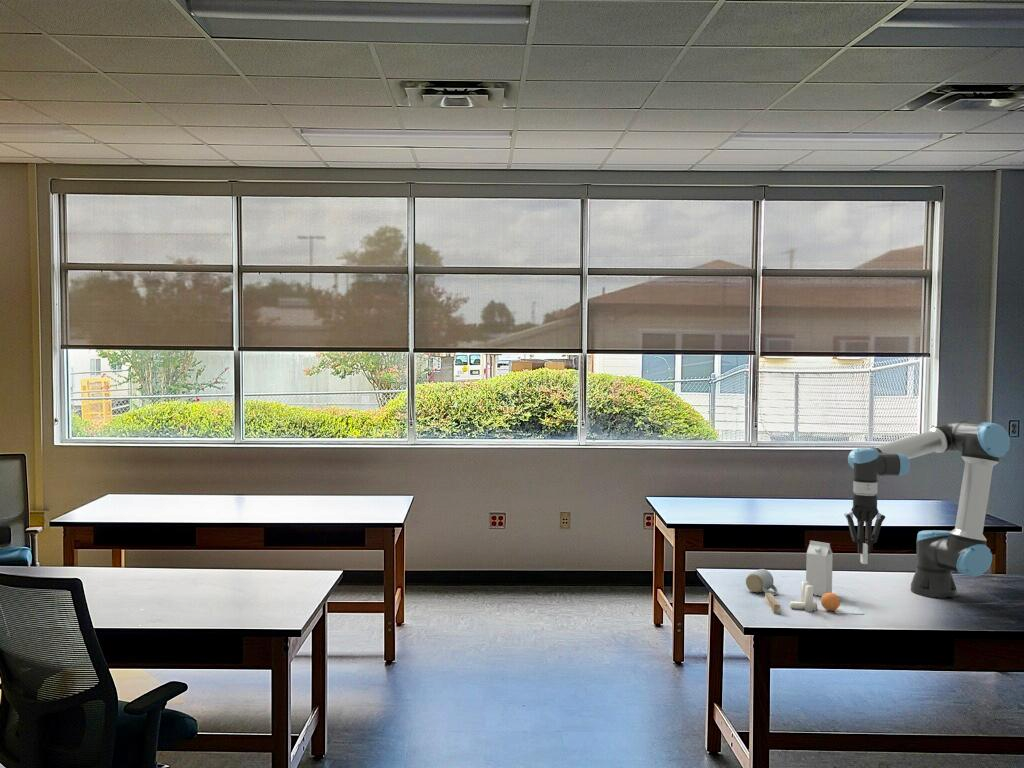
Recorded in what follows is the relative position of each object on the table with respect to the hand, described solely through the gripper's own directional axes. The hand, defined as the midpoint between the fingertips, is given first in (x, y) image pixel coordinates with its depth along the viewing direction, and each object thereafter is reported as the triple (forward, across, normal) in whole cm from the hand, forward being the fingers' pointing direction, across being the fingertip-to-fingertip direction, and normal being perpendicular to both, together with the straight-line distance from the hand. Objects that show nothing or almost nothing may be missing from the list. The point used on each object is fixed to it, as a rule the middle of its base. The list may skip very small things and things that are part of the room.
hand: (863, 563), depth 269 cm
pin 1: (+16, -18, +2) cm, 25 cm away
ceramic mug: (+17, -29, +20) cm, 39 cm away
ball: (+13, -11, -1) cm, 17 cm away
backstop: (+16, -30, 0) cm, 34 cm away
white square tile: (+16, -6, 0) cm, 17 cm away
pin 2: (+16, -18, -2) cm, 25 cm away
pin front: (+15, -15, 0) cm, 22 cm away
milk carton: (+17, -9, +20) cm, 28 cm away
